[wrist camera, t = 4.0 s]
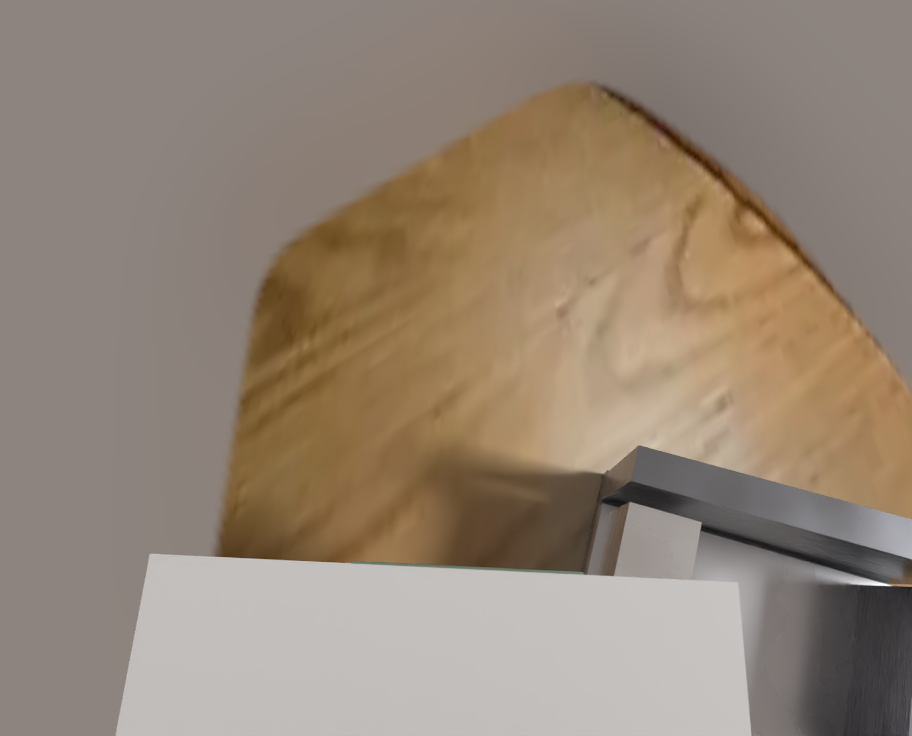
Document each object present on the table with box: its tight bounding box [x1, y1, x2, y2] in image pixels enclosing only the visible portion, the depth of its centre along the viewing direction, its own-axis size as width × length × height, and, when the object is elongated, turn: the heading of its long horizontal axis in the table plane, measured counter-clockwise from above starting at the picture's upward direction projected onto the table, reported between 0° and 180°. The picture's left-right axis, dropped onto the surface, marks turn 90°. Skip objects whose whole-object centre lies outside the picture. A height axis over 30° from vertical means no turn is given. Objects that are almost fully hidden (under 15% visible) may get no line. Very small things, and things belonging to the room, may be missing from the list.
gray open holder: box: [582, 446, 912, 736], centre depth 18 cm, size 8×10×6 cm
